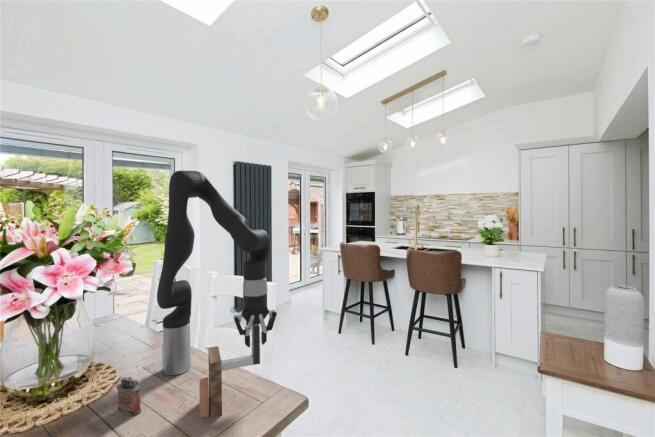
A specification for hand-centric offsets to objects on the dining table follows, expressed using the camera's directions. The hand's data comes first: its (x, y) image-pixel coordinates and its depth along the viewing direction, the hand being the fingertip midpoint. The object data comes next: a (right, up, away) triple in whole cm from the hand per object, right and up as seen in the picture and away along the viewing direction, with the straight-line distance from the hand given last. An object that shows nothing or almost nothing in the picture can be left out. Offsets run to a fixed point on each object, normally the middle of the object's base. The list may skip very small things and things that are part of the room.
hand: (255, 344), depth 100 cm
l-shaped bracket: (-5, -6, -2) cm, 8 cm away
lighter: (-36, -17, -7) cm, 41 cm away
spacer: (-14, -17, -6) cm, 23 cm away
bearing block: (-11, -17, -4) cm, 21 cm away
